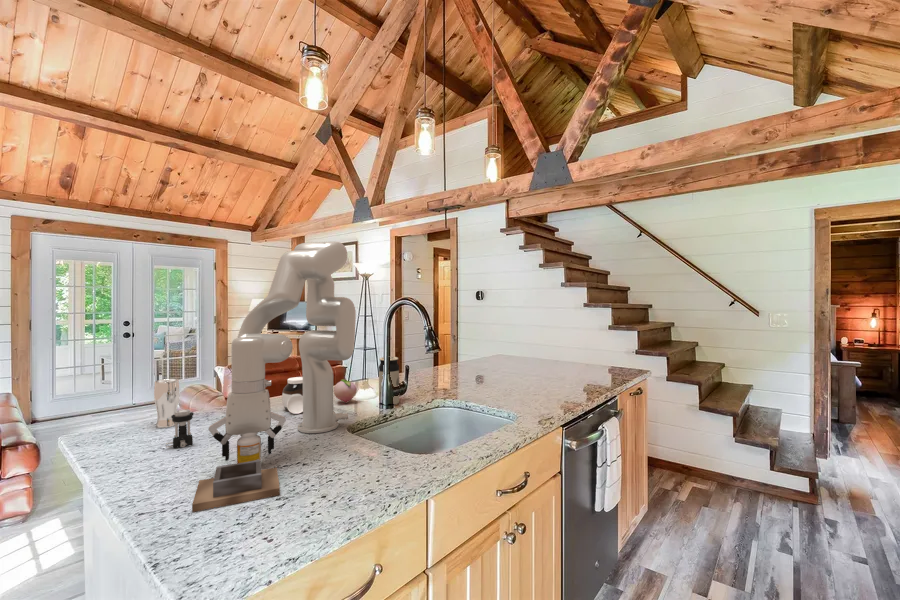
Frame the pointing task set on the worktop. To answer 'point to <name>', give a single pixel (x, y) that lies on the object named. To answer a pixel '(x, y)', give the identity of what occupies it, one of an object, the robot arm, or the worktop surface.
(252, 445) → the supplement bottle
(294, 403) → the spread jar
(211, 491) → the collar board
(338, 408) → the worktop surface
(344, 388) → the decorative fruit
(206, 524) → the worktop surface
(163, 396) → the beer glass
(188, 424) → the push button
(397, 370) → the travel mug
